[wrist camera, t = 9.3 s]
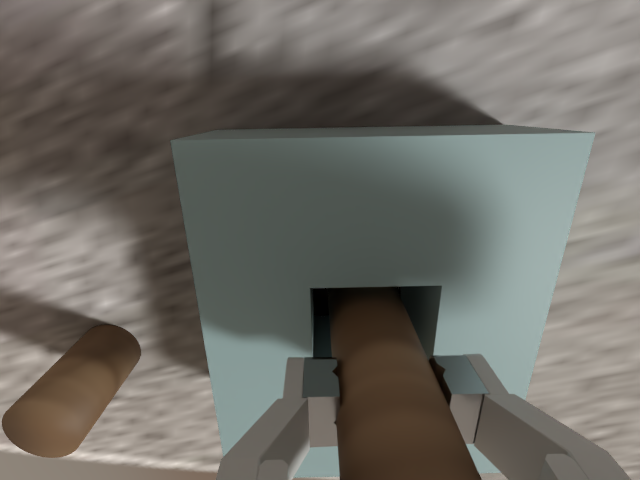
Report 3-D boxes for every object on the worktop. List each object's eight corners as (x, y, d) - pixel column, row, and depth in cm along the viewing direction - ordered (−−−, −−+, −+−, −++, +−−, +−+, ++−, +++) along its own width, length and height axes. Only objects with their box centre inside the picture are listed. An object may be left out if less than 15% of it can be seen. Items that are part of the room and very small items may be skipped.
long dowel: (327, 257, 15) (358, 666, 4) (394, 256, 15) (607, 660, 4) (327, 314, 16) (352, 762, 5) (390, 313, 16) (550, 757, 5)
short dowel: (76, 325, 18) (-10, 403, 13) (134, 324, 18) (69, 401, 13) (91, 371, 19) (17, 458, 14) (145, 370, 19) (89, 456, 14)
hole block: (217, 129, 14) (170, 140, 10) (504, 124, 14) (595, 132, 10) (248, 389, 19) (227, 478, 15) (460, 384, 19) (506, 472, 15)
